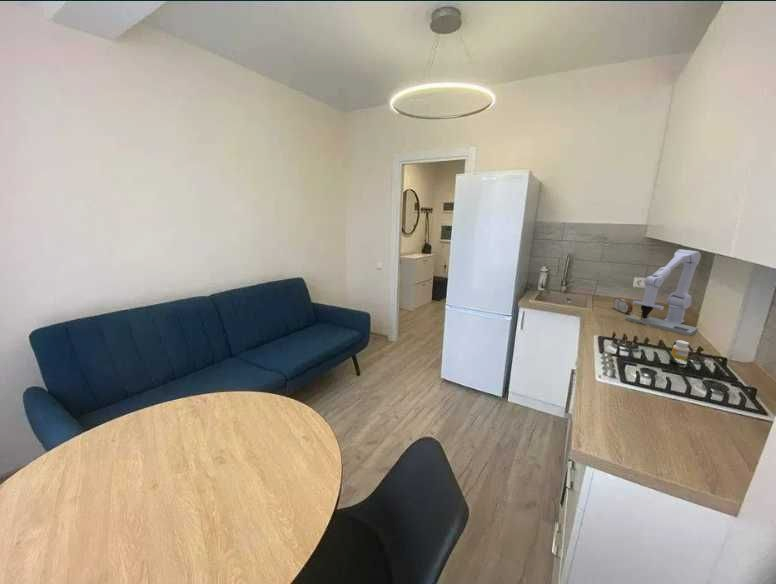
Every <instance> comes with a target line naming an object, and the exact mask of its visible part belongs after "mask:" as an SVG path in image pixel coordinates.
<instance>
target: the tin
mask: <svg viewBox="0 0 776 584" xmlns="http://www.w3.org/2000/svg"><path fill="white" fill-rule="evenodd" d="M613 308H614V309H615V310H616V311H618V310H619V311H618V312H620V311H621V312H620V313H622V312H623V314H628V313H629V314H631V313H632V312H633V304H632V302H631V301H630V300H627V299H625V298H622V297H617V298H615V299H614V300H613Z"/></svg>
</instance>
